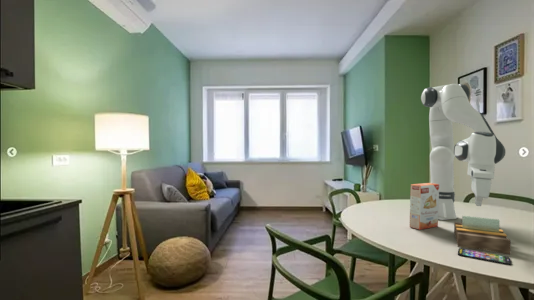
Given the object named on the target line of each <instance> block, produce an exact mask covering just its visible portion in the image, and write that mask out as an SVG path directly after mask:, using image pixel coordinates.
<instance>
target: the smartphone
mask: <svg viewBox="0 0 534 300" xmlns="http://www.w3.org/2000/svg"><path fill="white" fill-rule="evenodd" d="M457 255H458V256H459V257H464V258H470V259H474V260H479V261H484V262H489V263H494V264H500V265H505V266H511V265H512V262H511V257H509V256H506V255H502V254H501V255H500V254H496V253H491V252H483V251H481V250H475V249H470V248H464V247H459V248H458V250H457Z"/></svg>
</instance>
